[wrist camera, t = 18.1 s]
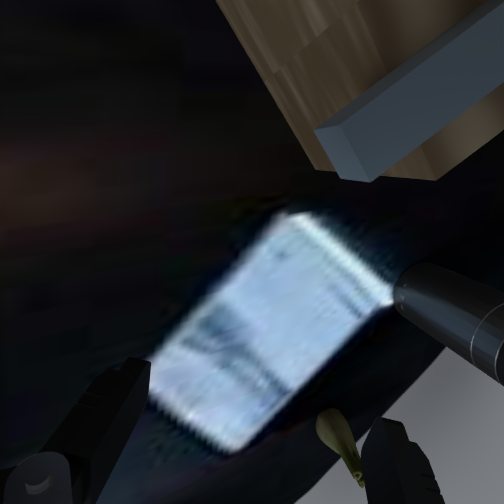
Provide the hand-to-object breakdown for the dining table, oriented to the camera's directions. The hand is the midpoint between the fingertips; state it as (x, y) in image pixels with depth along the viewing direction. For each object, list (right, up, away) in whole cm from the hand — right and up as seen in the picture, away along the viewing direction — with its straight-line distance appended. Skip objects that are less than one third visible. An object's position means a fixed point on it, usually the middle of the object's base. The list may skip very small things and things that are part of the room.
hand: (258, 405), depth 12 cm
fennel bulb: (+12, -21, +43) cm, 49 cm away
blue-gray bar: (+14, +18, +9) cm, 25 cm away
